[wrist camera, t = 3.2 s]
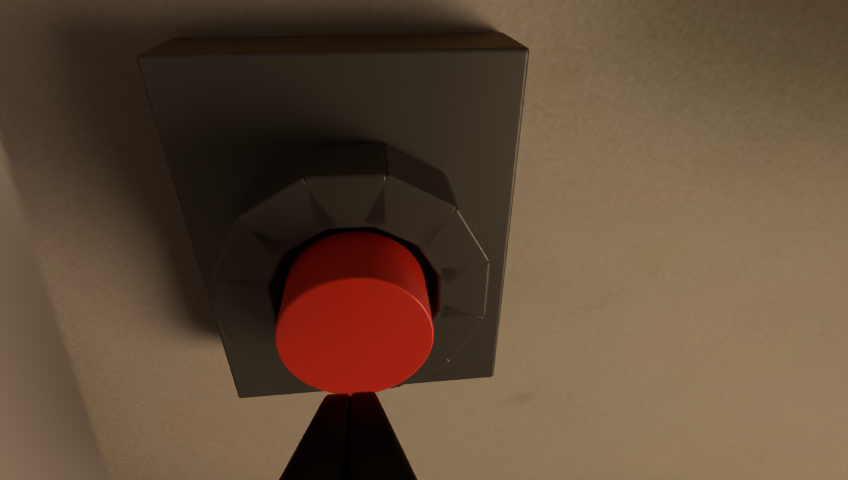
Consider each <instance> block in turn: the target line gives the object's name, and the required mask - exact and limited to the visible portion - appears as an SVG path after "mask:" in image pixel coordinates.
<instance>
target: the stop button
mask: <svg viewBox="0 0 848 480" xmlns="http://www.w3.org/2000/svg"><path fill="white" fill-rule="evenodd" d="M433 340H434V326H433V321H432V315H431V310H430V304H429V299H428V294H427V288H426V283H425V278H424V274H423V271H422V268H421V266H420V264H419V263H418V261H417V259H416V258H415V257H414V256H413V254H412V253H411V252H410V251H409V250H407V249H406V248H405V247H404V246H403V245H401V244H400V243H398V242H397V241H395V240H393V239H391V238H388V237H386V236H383V235H380V234H376V233H371V232H363V231H349V232H341V233H337V234H333V235H330V236H327V237H324V238H322V239H320V240H318V241H316V242H314V243H313V244H311V245H310V246H308V247H307V248H306V249H305V250H304V251H302V252H301V253H300V255H299V256H298V257H297V258H296V259H295V261H294V262H293V264H292V266H291V268H290V270H289V273H288V277H287V281H286V285H285V289H284V294H283V298H282V302H281V307H280V311H279V315H278V320H277V324H276V328H275V345H276V349H277V352H278V355H279V357H280V359H281V361H282V362H283V364H284V365H285V366H286V368H287V369H288V370H289V371H290V372H291V373H292V374H293V375H294V376H295V377H297V378H298V379H299V380H301V381H303V382H304V383H306V384H308V385H310V386H312V387H314V388H317V389H320V390H323V391H326V392H331V393H336V394H342V393H347V394H349V395H352V394H353V393H355V392H365V391H373V392H379V391H382V390H385V389H388V388H391V387H393V386H395V385H398V384H399V383H401V382H403V381H405V380H406V379H408V378H409V377H410V376H412V375H413V374H414V373H415V372H416V371H417V370H418V369H419V368H420V367H421V366H422V365H423V364H424V362H425V360H426V359H427V357H428V355H429V353H430V351H431V348H432V345H433Z"/></svg>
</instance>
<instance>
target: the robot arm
mask: <svg viewBox="0 0 848 480" xmlns="http://www.w3.org/2000/svg"><path fill="white" fill-rule="evenodd" d="M279 480H417V478H416V476H415V474H414V472H413V470H412V468H411V466H410V463H409V461H408V459H407V457H406V455H405V453H404V451H403V449H402V447H401V445H400V443H399V441H398V439H397V437H396V435H395V432H394V430H393V428H392V426H391V424H390V422H389V420H388V418H387V416H386V414H385V412H384V410H383V408H382V406H381V403H380V401H379V399H378V397H377V395H376V394H375V393H374V392H373V391H365V392H355V393H353V394H352V395H351V397H350V395H349V394H347V393H342V394H330V395H327V396H326V397H325V398H324V399H323V401H322V403H321V405H320V406H319V408H318V410H317V412H316V414H315V416H314V417H313V419H312V421H311V423H310V425H309V426H308V428H307V430H306V432H305V434H304V435H303V437H302V439H301V441H300V443H299V445H298V446H297V448H296V450H295V452H294V454H293V455H292V457H291V459H290V461H289V463H288V464H287V466H286V468H285V470H284V472H283V473H282V475H281V477H280V479H279Z"/></svg>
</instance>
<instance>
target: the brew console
mask: <svg viewBox="0 0 848 480" xmlns="http://www.w3.org/2000/svg"><path fill="white" fill-rule="evenodd" d="M528 58H529V49H528V48H527V47H525V46H524V45H522V44H520V43H519V42H517V41H516V40H514V39H512V38H511V37H509V36H507V35H506V34H504V33H446V34H384V35H322V36H259V37H197V38H173V39H171V40H169V41H167V42H165V43H163V44H161V45H159V46H156V47H154V48H152V49H150V50H148V51H146V52H144V53H142V54H140V55H138V56H137V63H138V66H139V69H140V72H141V76H142V79H143V82H144V86H145V89H146V92H147V96H148V99H149V102H150V105H151V109H152V112H153V115H154V119H155V122H156V125H157V129H158V132H159V135H160V138H161V142H162V145H163V148H164V152H165V155H166V158H167V162H168V165H169V168H170V171H171V175H172V178H173V181H174V185H175V188H176V191H177V195H178V198H179V201H180V204H181V208H182V211H183V214H184V218H185V221H186V224H187V228H188V231H189V234H190V237H191V241H192V244H193V247H194V251H195V254H196V257H197V260H198V264H199V267H200V270H201V274H202V277H203V280H204V284H205V287H206V290H207V293H208V297H209V300H210V303H211V307H212V310H213V313H214V317H215V320H216V323H217V326H218V330H219V333H220V336H221V340H222V343H223V346H224V350H225V353H226V356H227V359H228V363H229V366H230V369H231V373H232V376H233V379H234V383H235V386H236V389H237V392H238V396H239V397H240V398H247V397H258V396H270V395H282V394H294V393H306V392H317V391H323V390H320V389H317V388H314V387H312V386H310V385H308V384H306V383H304V382H303V381H301V380H299V379H298V378H297V377H295V376H294V375H293V374H292V373H291V372H290V371H289V370H288V369H287V368H286V366H285V365H284V364H283V362H282V361H281V359H280V357H279V355H278V352H277V349H276V345H275V328H276V324H277V320H278V315H279V311H280V307H281V302H282V298H283V294H284V289H285V285H286V281H287V277H288V273H289V270H290V268H291V266H292V264H293V262H294V261H295V259H296V258H297V257H298V256H299V255H300V253H301V252H302V251H304V250H305V249H306V248H307V247H308V246H310V245H311V244H313V243H314V242H316V241H318V240H320V239H322V238H324V237H327V236H330V235H333V234H337V233H341V232H349V231H363V232H371V233H376V234H380V235H383V236H386V237H388V238H391V239H393V240H395V241H397V242H398V243H400V244H401V245H403V246H404V247H405V248H406V249H407V250H409V251H410V252H411V253H412V254H413V256H414V257H415V258H416V259H417V261H418V263H419V264H420V266H421V268H422V271H423V274H424V278H425V283H426V288H427V294H428V299H429V304H430V310H431V315H432V321H433V326H434V340H433V345H432V348H431V351H430V353H429V355H428V357H427V359H426V360H425V362H424V364H423V365H422V366H421V367H420V368H419V369H418V370H417V371H416V372H415V373H414V374H413V375H412V376H410V377H409V378H408V379H406V380H405V381H403V382H401V383H399V384H398V385H395V386H393V387H391V388H395V387H399V386H402V385H404V384H412V383H424V382H435V381H447V380H459V379H471V378H482V377H491V376H493V373H494V364H495V355H496V346H497V337H498V328H499V319H500V310H501V301H502V292H503V283H504V274H505V265H506V256H507V247H508V238H509V229H510V220H511V211H512V202H513V193H514V184H515V175H516V166H517V157H518V148H519V139H520V130H521V121H522V112H523V103H524V94H525V85H526V76H527V67H528Z"/></svg>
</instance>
